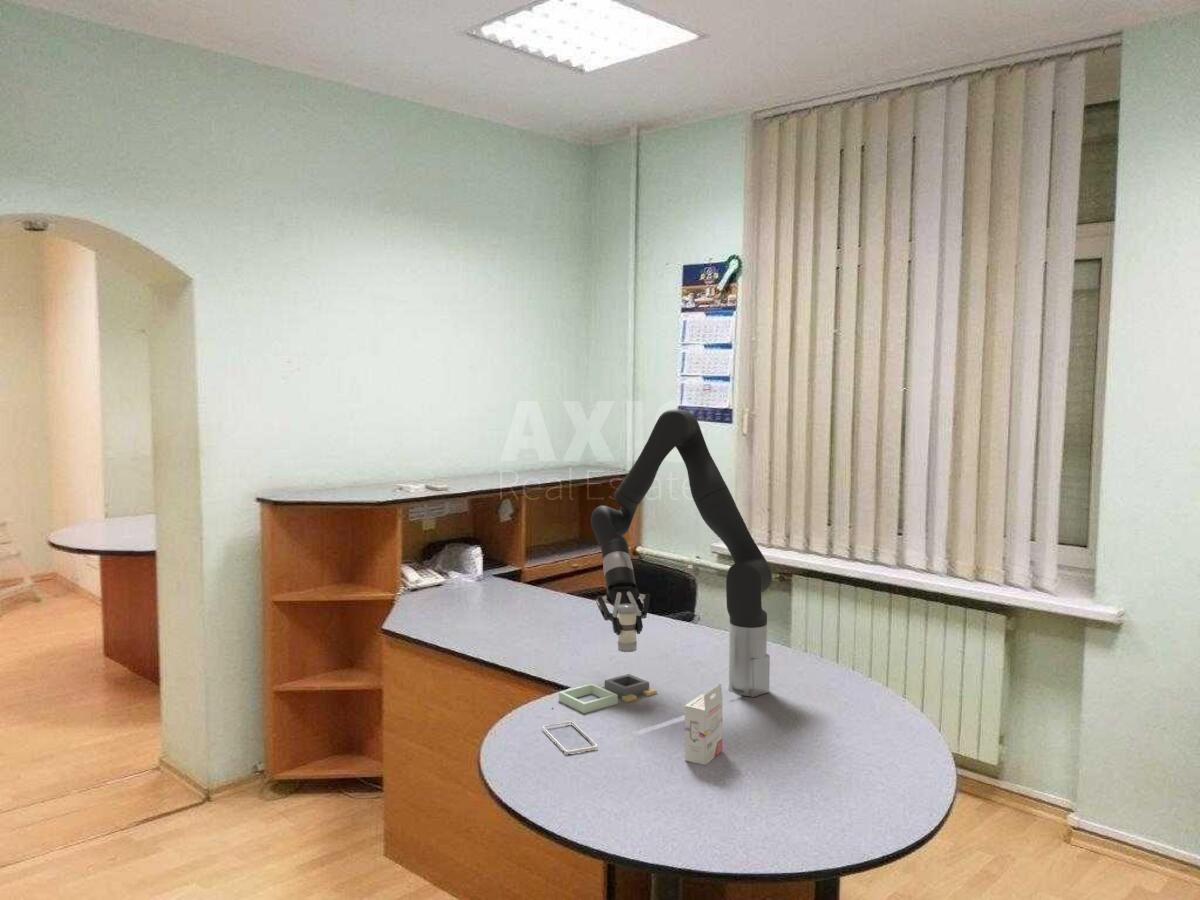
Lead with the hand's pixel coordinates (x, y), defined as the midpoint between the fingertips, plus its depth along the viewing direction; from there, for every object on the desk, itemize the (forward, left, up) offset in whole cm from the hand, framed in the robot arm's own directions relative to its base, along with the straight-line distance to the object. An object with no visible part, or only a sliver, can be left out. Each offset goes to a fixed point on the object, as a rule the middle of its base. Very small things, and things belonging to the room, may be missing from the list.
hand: (628, 632), depth 218 cm
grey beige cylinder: (+2, -1, -5) cm, 5 cm away
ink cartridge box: (-35, +9, -17) cm, 40 cm away
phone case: (-11, +26, -17) cm, 33 cm away
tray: (+2, +11, -16) cm, 20 cm away
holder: (+2, -1, -16) cm, 16 cm away
